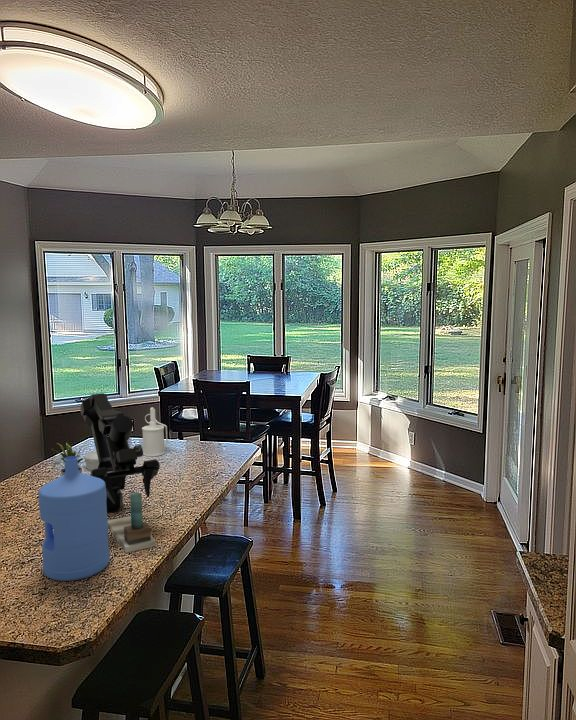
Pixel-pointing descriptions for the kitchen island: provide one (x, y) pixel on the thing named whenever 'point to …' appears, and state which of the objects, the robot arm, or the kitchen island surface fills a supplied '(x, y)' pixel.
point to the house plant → (69, 453)
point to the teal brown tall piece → (136, 522)
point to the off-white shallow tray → (118, 532)
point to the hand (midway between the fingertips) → (131, 499)
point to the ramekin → (91, 460)
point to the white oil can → (153, 436)
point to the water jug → (74, 525)
